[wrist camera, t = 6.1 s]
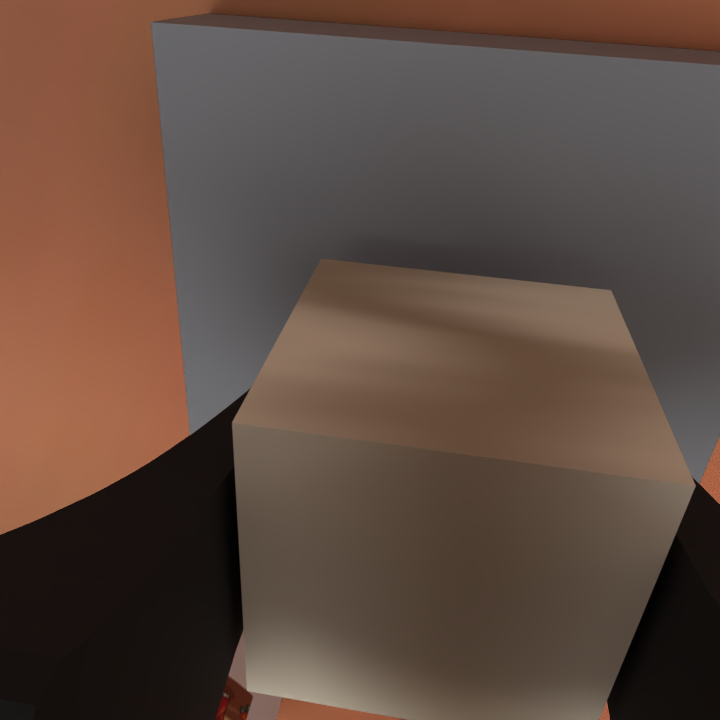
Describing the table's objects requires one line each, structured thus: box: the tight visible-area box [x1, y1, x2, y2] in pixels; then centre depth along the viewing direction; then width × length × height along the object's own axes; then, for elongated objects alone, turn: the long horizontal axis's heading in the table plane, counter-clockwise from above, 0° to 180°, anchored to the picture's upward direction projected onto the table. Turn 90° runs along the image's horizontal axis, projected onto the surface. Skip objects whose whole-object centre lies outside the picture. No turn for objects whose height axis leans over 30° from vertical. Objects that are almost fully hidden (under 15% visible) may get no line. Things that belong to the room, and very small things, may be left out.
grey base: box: [151, 14, 720, 483], centre depth 15 cm, size 12×12×3 cm
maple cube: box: [232, 259, 696, 720], centre depth 11 cm, size 5×5×5 cm
